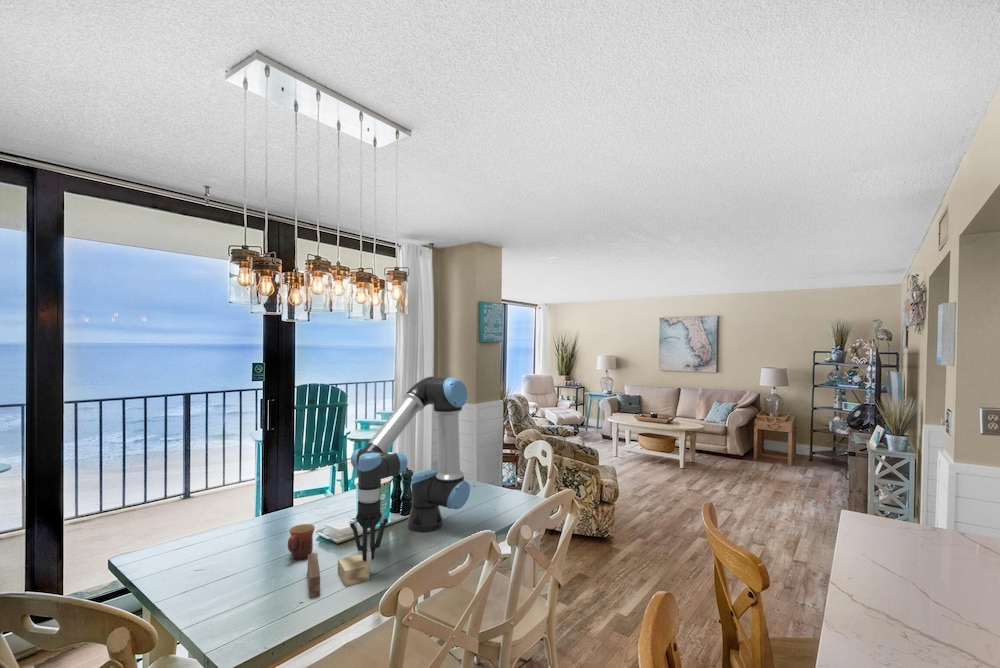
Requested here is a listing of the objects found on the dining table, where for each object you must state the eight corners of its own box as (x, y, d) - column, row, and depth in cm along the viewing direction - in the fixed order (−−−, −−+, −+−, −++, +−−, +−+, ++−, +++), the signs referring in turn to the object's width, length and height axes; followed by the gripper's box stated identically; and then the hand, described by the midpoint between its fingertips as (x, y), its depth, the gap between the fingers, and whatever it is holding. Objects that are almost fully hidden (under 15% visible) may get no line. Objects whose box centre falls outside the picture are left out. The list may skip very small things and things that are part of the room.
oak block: (361, 568, 168) (361, 554, 168) (369, 580, 160) (369, 565, 160) (337, 574, 164) (337, 559, 164) (344, 586, 155) (344, 571, 156)
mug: (298, 550, 182) (298, 523, 182) (319, 552, 180) (319, 525, 180) (277, 564, 170) (278, 535, 170) (299, 567, 168) (300, 537, 169)
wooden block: (316, 570, 166) (317, 553, 166) (319, 595, 149) (320, 576, 149) (307, 572, 165) (307, 554, 165) (309, 597, 148) (309, 578, 148)
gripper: (386, 494, 170) (385, 561, 170) (348, 498, 165) (347, 568, 165) (390, 500, 164) (389, 570, 163) (350, 505, 158) (349, 577, 158)
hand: (368, 569), depth 164 cm, fingers closed
